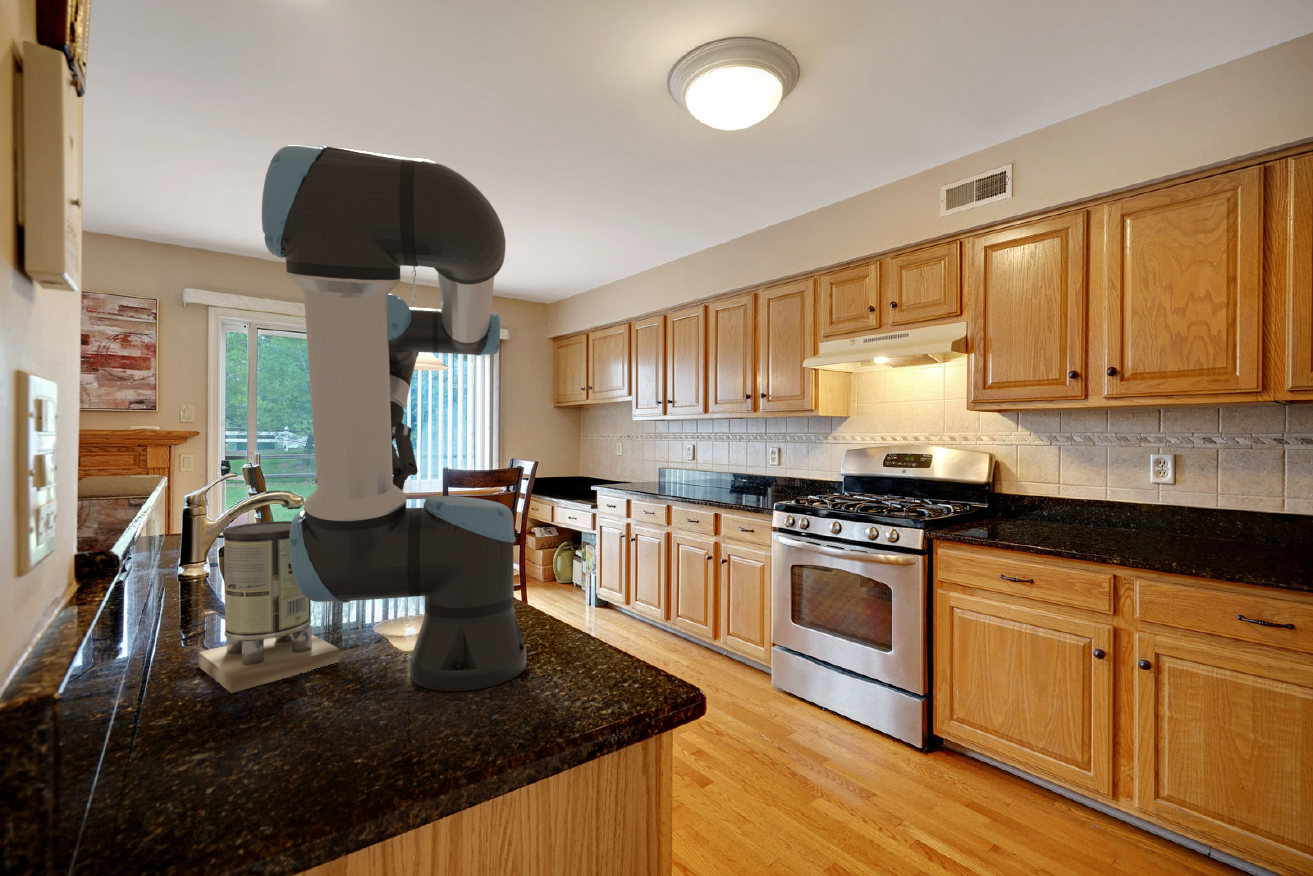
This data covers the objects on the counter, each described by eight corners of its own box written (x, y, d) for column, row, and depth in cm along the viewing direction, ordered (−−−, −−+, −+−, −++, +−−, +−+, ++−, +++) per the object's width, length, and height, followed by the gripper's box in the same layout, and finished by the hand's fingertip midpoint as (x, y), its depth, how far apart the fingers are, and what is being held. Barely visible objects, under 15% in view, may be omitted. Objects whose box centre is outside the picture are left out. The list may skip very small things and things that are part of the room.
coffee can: (245, 618, 91) (245, 521, 90) (322, 615, 92) (322, 520, 92) (206, 643, 80) (206, 533, 80) (293, 639, 82) (293, 532, 82)
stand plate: (339, 663, 87) (339, 648, 87) (231, 693, 77) (231, 676, 77) (301, 642, 95) (301, 628, 95) (198, 666, 85) (198, 652, 85)
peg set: (315, 649, 87) (315, 627, 87) (245, 666, 80) (245, 643, 80) (290, 636, 92) (290, 615, 92) (224, 651, 86) (223, 629, 86)
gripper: (453, 403, 109) (430, 520, 101) (347, 424, 119) (317, 533, 110) (423, 383, 103) (396, 506, 94) (313, 406, 112) (279, 520, 103)
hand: (354, 521), depth 102 cm, fingers open, 13 cm apart
